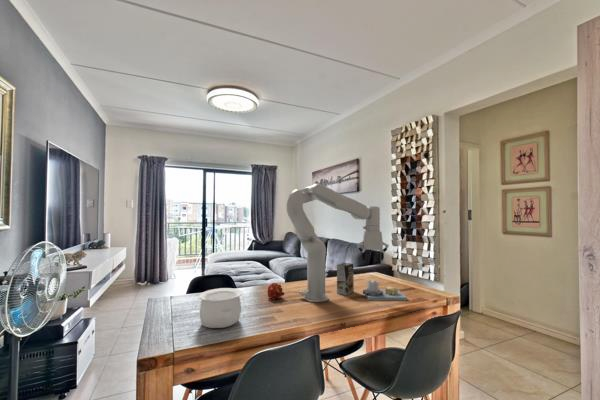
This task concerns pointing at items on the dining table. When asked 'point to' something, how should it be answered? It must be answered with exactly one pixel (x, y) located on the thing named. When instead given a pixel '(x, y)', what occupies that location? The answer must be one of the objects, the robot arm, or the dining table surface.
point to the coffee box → (345, 278)
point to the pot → (220, 307)
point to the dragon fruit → (275, 291)
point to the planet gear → (372, 289)
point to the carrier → (388, 294)
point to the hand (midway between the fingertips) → (372, 259)
